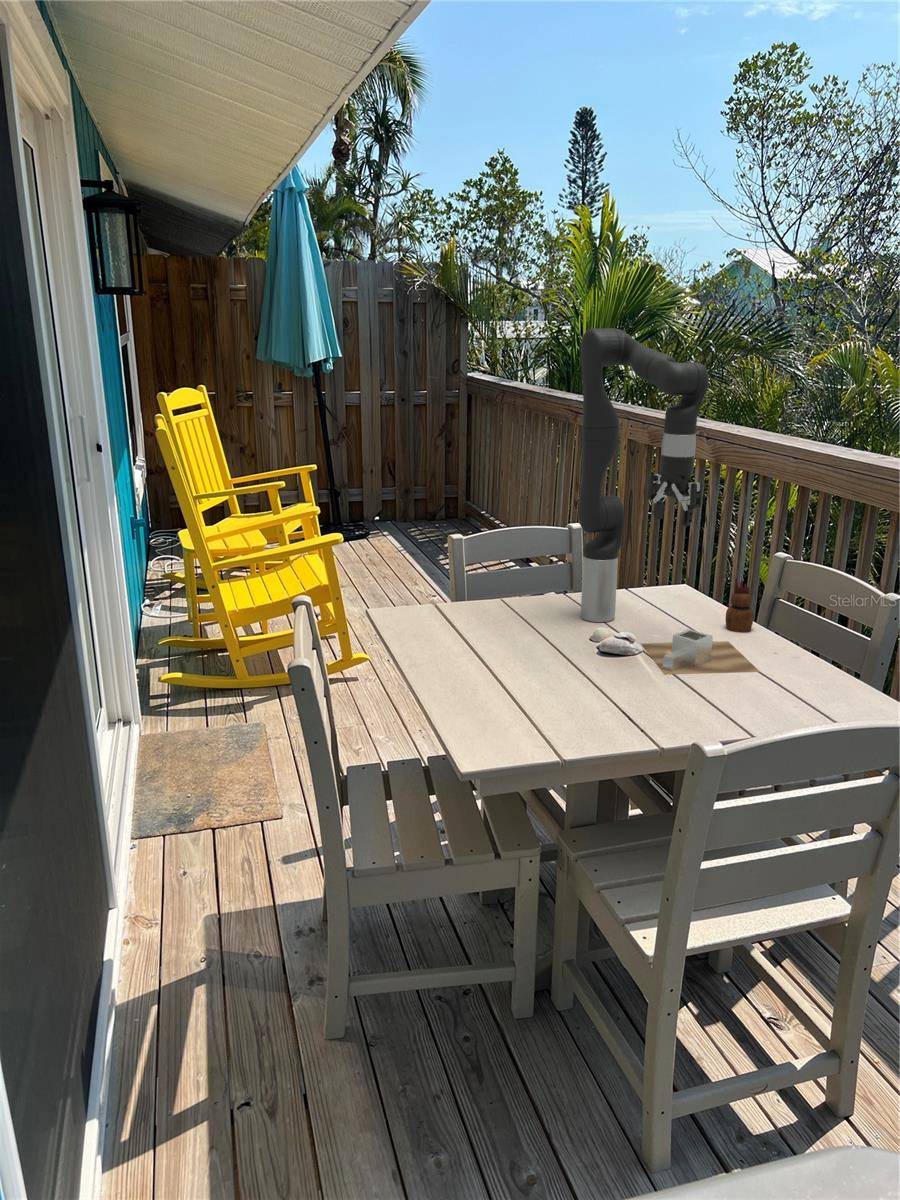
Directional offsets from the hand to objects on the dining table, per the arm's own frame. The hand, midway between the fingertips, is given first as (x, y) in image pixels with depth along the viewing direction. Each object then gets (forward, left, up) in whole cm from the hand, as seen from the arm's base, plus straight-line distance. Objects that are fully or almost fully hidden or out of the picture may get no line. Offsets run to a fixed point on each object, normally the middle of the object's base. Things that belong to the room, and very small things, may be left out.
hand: (672, 522), depth 208 cm
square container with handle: (+12, +1, -31) cm, 33 cm away
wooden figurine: (-10, +23, -32) cm, 41 cm away
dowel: (+13, -2, -31) cm, 33 cm away
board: (+9, +6, -32) cm, 34 cm away
